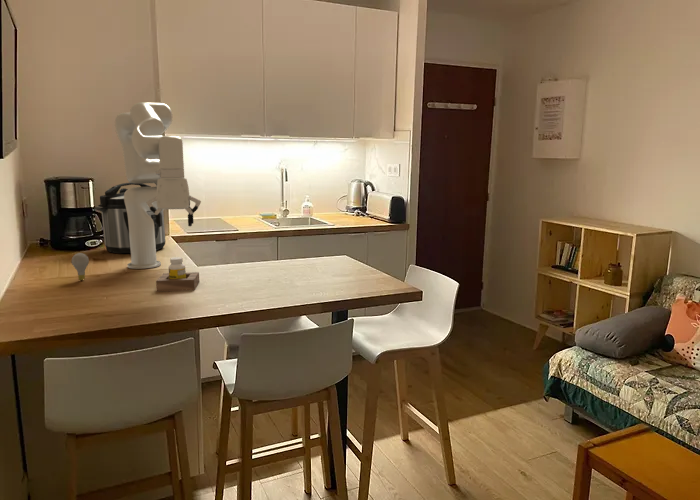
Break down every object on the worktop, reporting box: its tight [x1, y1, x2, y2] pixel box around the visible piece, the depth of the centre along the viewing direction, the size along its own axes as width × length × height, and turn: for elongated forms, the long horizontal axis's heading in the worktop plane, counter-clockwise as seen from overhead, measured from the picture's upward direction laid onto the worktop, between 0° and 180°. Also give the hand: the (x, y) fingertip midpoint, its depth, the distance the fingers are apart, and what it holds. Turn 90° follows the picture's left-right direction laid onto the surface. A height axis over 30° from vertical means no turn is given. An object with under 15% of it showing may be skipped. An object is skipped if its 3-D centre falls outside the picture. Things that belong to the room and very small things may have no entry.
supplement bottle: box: [168, 256, 187, 279], centre depth 186 cm, size 5×5×10 cm
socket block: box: [155, 271, 200, 293], centre depth 187 cm, size 12×12×4 cm
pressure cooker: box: [94, 182, 166, 254], centre depth 259 cm, size 30×28×32 cm
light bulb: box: [71, 252, 90, 281], centre depth 196 cm, size 6×6×10 cm
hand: (175, 226), depth 184 cm, fingers open, 9 cm apart
